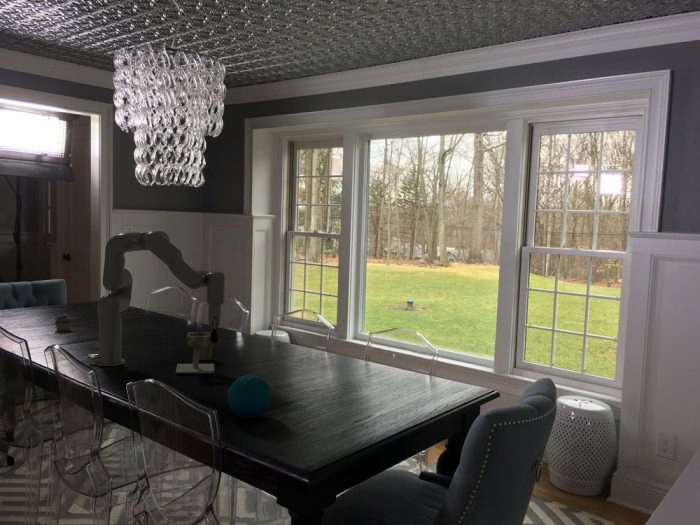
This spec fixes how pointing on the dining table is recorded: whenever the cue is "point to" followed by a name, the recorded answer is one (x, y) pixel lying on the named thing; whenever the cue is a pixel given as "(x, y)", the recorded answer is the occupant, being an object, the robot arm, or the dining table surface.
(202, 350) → the flower pot
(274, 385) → the dining table surface
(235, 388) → the decorative orb
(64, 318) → the cupcake
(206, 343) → the birch loop
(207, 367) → the post stand
